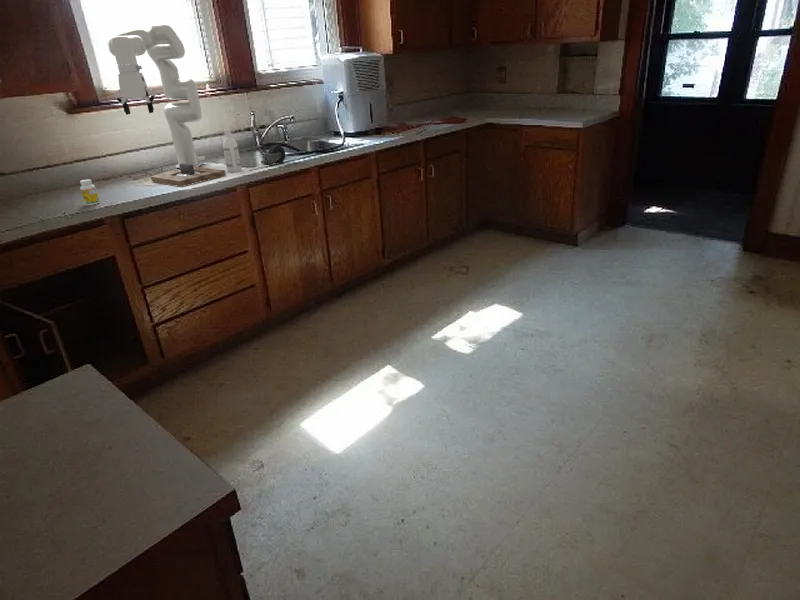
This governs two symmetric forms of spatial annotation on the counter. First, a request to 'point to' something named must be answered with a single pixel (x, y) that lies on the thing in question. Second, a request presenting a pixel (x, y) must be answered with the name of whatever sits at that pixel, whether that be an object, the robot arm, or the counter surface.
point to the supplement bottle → (89, 192)
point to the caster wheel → (274, 155)
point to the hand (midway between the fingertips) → (139, 113)
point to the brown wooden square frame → (181, 181)
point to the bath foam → (231, 152)
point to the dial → (187, 170)
